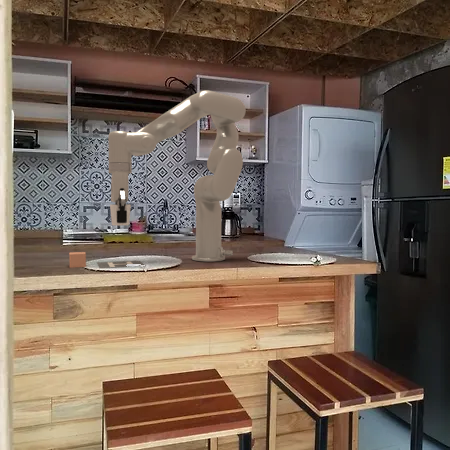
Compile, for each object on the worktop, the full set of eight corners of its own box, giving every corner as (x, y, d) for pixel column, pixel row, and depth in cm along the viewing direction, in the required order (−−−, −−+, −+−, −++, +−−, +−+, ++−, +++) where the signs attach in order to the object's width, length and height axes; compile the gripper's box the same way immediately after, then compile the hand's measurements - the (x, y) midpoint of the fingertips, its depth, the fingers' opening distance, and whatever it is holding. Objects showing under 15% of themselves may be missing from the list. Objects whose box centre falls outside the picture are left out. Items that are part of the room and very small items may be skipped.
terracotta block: (85, 266, 152) (85, 252, 151) (85, 269, 147) (85, 253, 147) (69, 267, 150) (69, 252, 150) (69, 269, 145) (69, 254, 145)
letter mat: (139, 262, 162) (139, 260, 162) (146, 268, 149) (146, 266, 149) (96, 264, 157) (96, 262, 157) (99, 270, 144) (99, 268, 144)
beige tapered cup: (125, 225, 148) (125, 204, 148) (106, 225, 150) (106, 204, 149) (134, 224, 155) (134, 204, 155) (115, 224, 156) (115, 204, 156)
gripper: (106, 169, 158) (106, 221, 159) (111, 166, 142) (111, 223, 143) (128, 170, 161) (128, 220, 162) (135, 167, 144) (135, 223, 145)
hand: (120, 221), depth 152 cm, fingers closed on beige tapered cup, 6 cm apart
